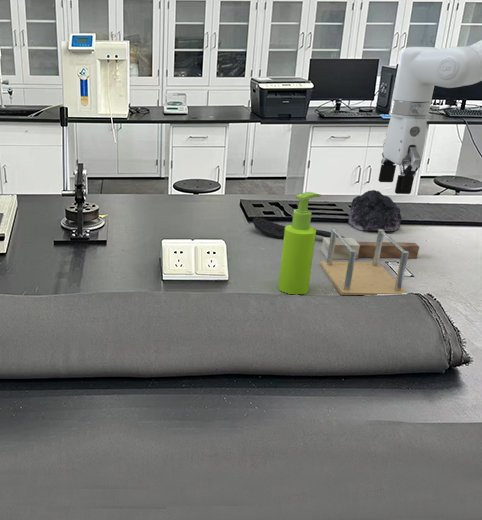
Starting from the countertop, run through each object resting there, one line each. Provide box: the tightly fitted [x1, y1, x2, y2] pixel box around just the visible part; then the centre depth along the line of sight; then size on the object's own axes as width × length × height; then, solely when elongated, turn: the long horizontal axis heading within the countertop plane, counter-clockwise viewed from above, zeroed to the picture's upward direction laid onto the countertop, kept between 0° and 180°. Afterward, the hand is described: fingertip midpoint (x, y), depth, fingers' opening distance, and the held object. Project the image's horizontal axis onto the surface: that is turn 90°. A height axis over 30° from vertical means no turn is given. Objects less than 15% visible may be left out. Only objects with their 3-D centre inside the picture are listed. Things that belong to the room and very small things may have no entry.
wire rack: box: [319, 228, 409, 296], centre depth 111 cm, size 13×16×9 cm
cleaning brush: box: [320, 236, 420, 260], centre depth 125 cm, size 21×5×4 cm, turn 87°
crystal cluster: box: [348, 189, 403, 232], centre depth 144 cm, size 13×14×10 cm
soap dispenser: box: [277, 191, 322, 295], centre depth 105 cm, size 6×7×20 cm
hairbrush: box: [252, 214, 346, 240], centre depth 137 cm, size 8×4×25 cm
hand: (393, 187), depth 120 cm, fingers open, 9 cm apart
